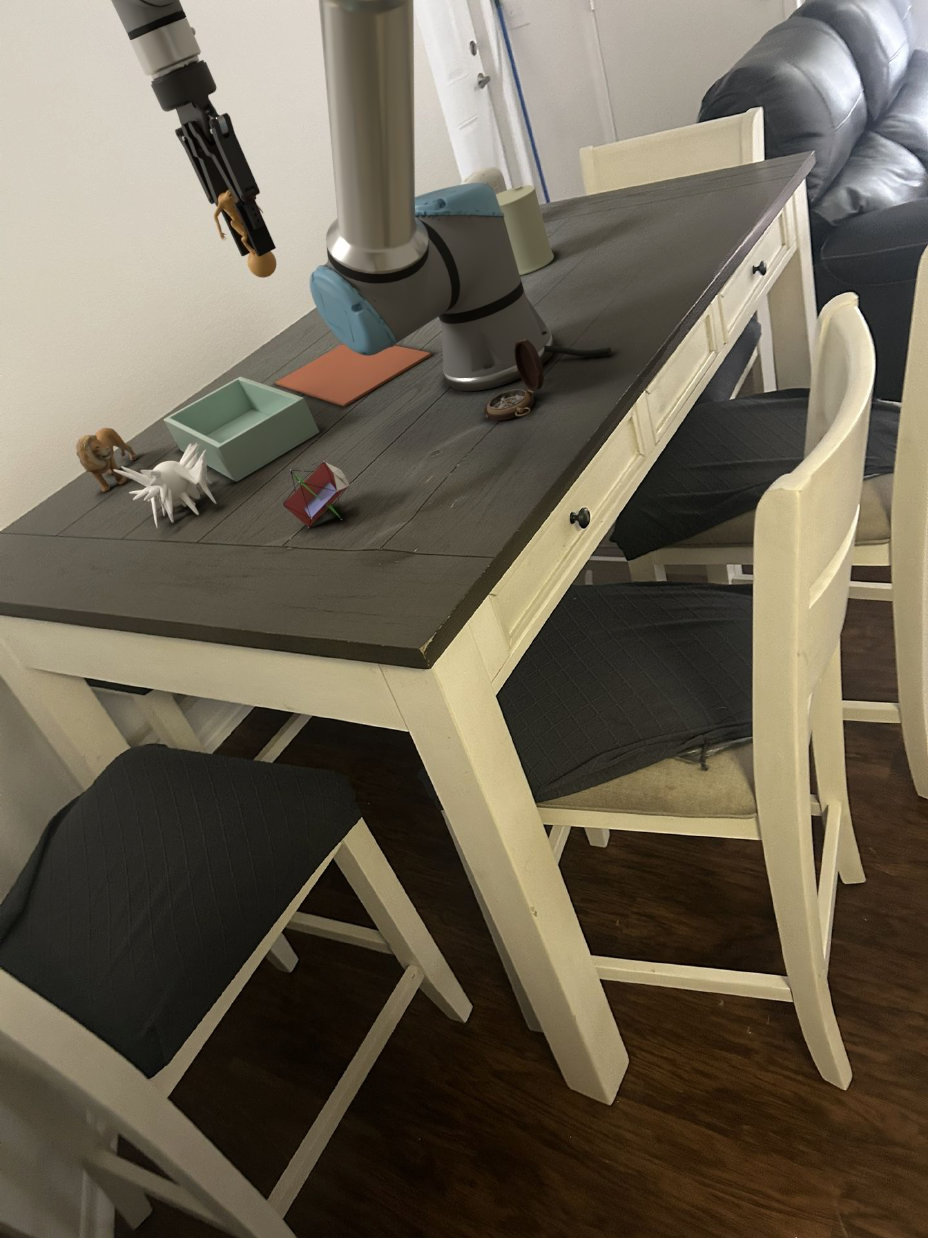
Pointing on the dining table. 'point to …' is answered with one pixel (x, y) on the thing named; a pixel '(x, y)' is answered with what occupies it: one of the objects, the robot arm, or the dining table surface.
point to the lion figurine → (102, 454)
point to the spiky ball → (173, 482)
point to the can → (525, 228)
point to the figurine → (244, 237)
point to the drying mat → (350, 373)
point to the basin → (242, 426)
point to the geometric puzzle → (317, 493)
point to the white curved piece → (488, 179)
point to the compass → (517, 399)
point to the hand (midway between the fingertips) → (258, 251)
